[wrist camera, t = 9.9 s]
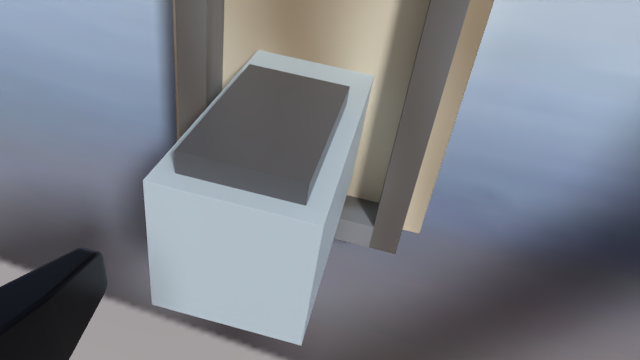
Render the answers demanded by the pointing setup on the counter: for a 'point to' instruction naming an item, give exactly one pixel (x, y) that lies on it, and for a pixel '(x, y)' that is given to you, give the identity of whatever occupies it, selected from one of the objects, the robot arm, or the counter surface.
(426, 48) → the rail
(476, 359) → the counter surface
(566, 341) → the counter surface
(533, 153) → the counter surface
